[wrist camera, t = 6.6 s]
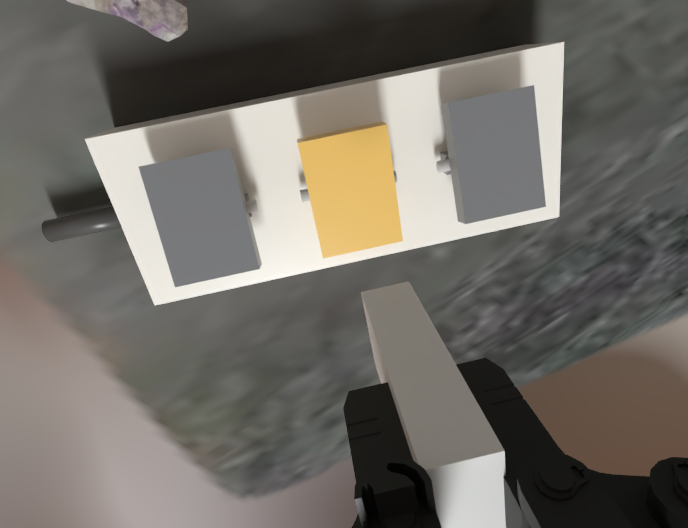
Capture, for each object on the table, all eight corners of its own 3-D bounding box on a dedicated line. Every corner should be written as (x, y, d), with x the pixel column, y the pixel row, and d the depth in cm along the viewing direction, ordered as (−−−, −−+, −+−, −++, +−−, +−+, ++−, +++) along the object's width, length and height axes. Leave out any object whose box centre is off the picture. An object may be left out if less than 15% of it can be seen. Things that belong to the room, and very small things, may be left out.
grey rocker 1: (146, 166, 21) (138, 166, 20) (232, 148, 21) (228, 148, 20) (181, 281, 22) (174, 287, 21) (261, 264, 22) (259, 268, 21)
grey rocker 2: (441, 106, 21) (448, 102, 20) (522, 89, 21) (533, 85, 20) (457, 221, 22) (465, 224, 21) (534, 204, 23) (545, 206, 22)
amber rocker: (296, 139, 20) (297, 143, 19) (382, 121, 21) (387, 124, 20) (321, 250, 23) (323, 258, 22) (397, 233, 23) (402, 241, 22)
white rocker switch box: (21, 146, 24) (-42, 166, 19) (523, 44, 25) (577, 40, 20) (91, 291, 28) (53, 336, 23) (524, 197, 29) (570, 223, 24)
